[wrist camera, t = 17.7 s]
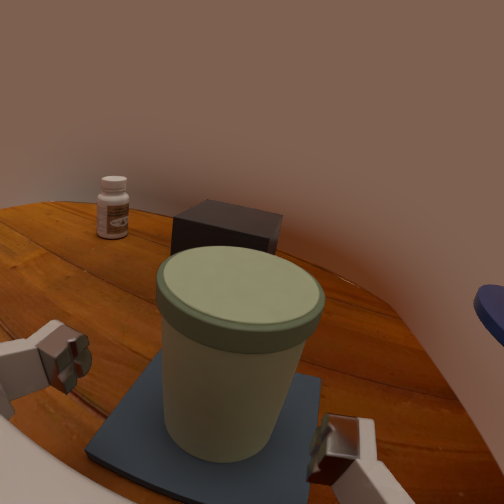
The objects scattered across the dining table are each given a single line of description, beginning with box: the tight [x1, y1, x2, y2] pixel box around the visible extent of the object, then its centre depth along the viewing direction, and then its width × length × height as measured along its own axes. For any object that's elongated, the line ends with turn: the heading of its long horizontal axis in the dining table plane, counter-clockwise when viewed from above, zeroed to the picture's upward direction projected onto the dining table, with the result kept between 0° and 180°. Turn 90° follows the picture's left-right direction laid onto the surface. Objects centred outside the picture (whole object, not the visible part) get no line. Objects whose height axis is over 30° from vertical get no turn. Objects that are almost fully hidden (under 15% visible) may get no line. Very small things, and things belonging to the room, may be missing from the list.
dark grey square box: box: [170, 199, 283, 256], centre depth 35 cm, size 10×10×6 cm
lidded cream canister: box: [156, 246, 325, 463], centre depth 13 cm, size 6×6×9 cm
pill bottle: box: [97, 176, 129, 239], centre depth 37 cm, size 4×4×8 cm
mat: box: [84, 348, 321, 504], centre depth 15 cm, size 11×11×1 cm
